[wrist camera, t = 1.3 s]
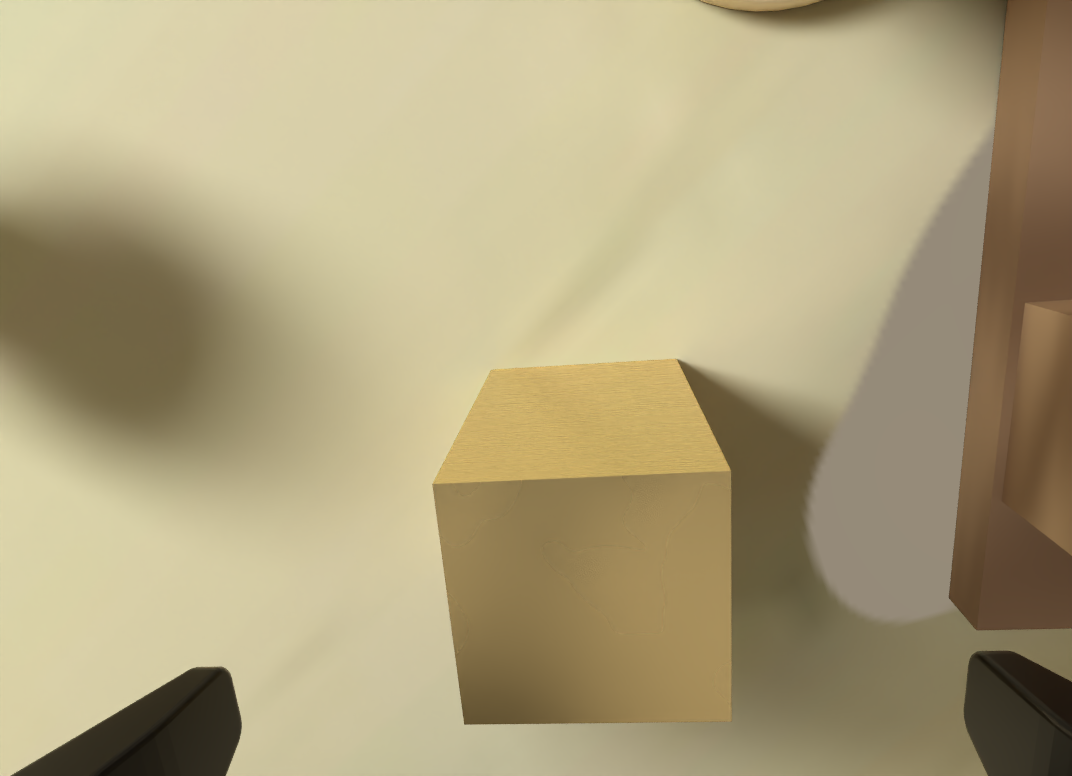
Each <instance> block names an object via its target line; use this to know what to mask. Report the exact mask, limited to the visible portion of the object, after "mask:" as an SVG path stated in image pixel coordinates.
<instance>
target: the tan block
mask: <svg viewBox="0 0 1072 776" xmlns="http://www.w3.org/2000/svg"><path fill="white" fill-rule="evenodd" d="M433 491H434V499H435V506H436V514H437V522H438V529H439V537H440V544H441V552H442V559H443V567H444V574H445V582H446V590H447V597H448V605H449V612H450V620H451V627H452V635H453V643H454V650H455V658H456V665H457V673H458V680H459V688H460V695H461V703H462V711H463V718H464V724H551V723H638V722H725V721H732V706H731V470H730V468H729V465H728V463H727V461H726V459H725V457H724V455H723V453H722V451H721V449H720V447H719V445H718V443H717V441H716V439H715V437H714V435H713V433H712V431H711V429H710V426H709V424H708V422H707V420H706V418H705V416H704V414H703V412H702V410H701V408H700V406H699V404H698V402H697V400H696V398H695V396H694V394H693V392H692V389H691V387H690V385H689V383H688V381H687V379H686V377H685V375H684V373H683V371H682V369H681V367H680V365H679V363H678V361H677V359H665V360H648V361H631V362H614V363H597V364H580V365H563V366H546V367H529V368H512V369H495V370H491V371H490V373H489V375H488V377H487V379H486V381H485V383H484V385H483V387H482V389H481V391H480V393H479V395H478V397H477V398H476V400H475V402H474V404H473V406H472V408H471V410H470V412H469V414H468V416H467V418H466V420H465V422H464V424H463V426H462V428H461V430H460V432H459V434H458V435H457V437H456V439H455V441H454V443H453V445H452V447H451V449H450V451H449V453H448V455H447V457H446V459H445V461H444V463H443V465H442V467H441V469H440V470H439V472H438V474H437V476H436V478H435V480H434V482H433Z"/></svg>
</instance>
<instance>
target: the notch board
mask: <svg viewBox="0 0 1072 776" xmlns="http://www.w3.org/2000/svg"><path fill="white" fill-rule="evenodd" d="M949 599H950V600H951V601H952V602H953V603H954V605H955V606H956V607H957V608H958V609H959V610H960V611H961V613H962V614H963V615H964V616H965V617H966V618H967V620H968V621H969V622H970V623H971V624H972V625H973V627H974V628H975V629H976V630H1013V629H1058V628H1072V0H1007V10H1006V21H1005V31H1004V41H1003V51H1002V61H1001V72H1000V82H999V92H998V102H997V112H996V122H995V133H994V143H993V153H992V163H991V173H990V184H989V194H988V205H987V214H986V224H985V235H984V245H983V256H982V265H981V277H980V286H979V296H978V306H977V317H976V327H975V337H974V348H973V357H972V368H971V378H970V387H969V398H968V408H967V418H966V428H965V439H964V449H963V460H962V469H961V479H960V489H959V500H958V510H957V520H956V530H955V541H954V551H953V561H952V572H951V582H950V591H949Z"/></svg>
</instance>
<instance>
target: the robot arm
mask: <svg viewBox="0 0 1072 776" xmlns="http://www.w3.org/2000/svg"><path fill="white" fill-rule="evenodd" d="M964 719H965V724H966V728H967V731H968V733H969V736H970V738H971V740H972V742H973V744H974V747H975V749H976V751H977V753H978V755H979V757H980V760H981V762H982V764H983V766H984V768H985V770H986V773H987V775H988V776H1072V682H1071V681H1069V680H1067V679H1065V678H1063V677H1061V676H1059V675H1057V674H1055V673H1054V672H1052V671H1050V670H1048V669H1046V668H1044V667H1042V666H1040V665H1038V664H1036V663H1034V662H1032V661H1030V660H1029V659H1027V658H1025V657H1023V656H1021V655H1019V654H1017V653H1015V652H1011V651H979V652H976V653H974V654H973V655H972V656H971V658H970V661H969V665H968V674H967V684H966V693H965V702H964ZM241 728H242V722H241V715H240V711H239V707H238V703H237V698H236V694H235V690H234V686H233V681H232V677H231V674H230V673H229V671H228V670H227V669H226V668H224V667H196V668H192V669H190V670H188V671H186V672H185V673H183V674H181V675H180V676H178V677H176V678H175V679H173V680H171V681H170V682H168V683H166V684H165V685H163V686H161V687H159V688H158V689H156V690H154V691H153V692H151V693H149V694H148V695H146V696H144V697H143V698H141V699H139V700H138V701H136V702H134V703H133V704H131V705H129V706H127V707H126V708H124V709H122V710H121V711H119V712H117V713H116V714H114V715H112V716H111V717H109V718H107V719H106V720H104V721H102V722H100V723H99V724H97V725H95V726H94V727H92V728H90V729H89V730H87V731H85V732H84V733H82V734H80V735H79V736H77V737H75V738H73V739H72V740H70V741H68V742H67V743H65V744H63V745H62V746H60V747H58V748H57V749H55V750H53V751H52V752H50V753H48V754H46V755H45V756H43V757H41V758H40V759H38V760H36V761H35V762H33V763H31V764H30V765H28V766H26V767H25V768H23V769H21V770H19V771H18V772H16V773H14V774H13V775H11V776H226V774H227V771H228V769H229V766H230V763H231V761H232V758H233V756H234V753H235V750H236V748H237V745H238V742H239V739H240V735H241Z"/></svg>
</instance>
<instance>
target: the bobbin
mask: <svg viewBox="0 0 1072 776" xmlns="http://www.w3.org/2000/svg"><path fill="white" fill-rule="evenodd" d="M700 1H703V2H705V3H709V4H713V5H717V6H720V7H724V8H728V9H736V10H745V11H780V10H785V9H791V8H797V7H803V6H807V5H810V4H813V3H816V2H819V1H822V0H700Z"/></svg>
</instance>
